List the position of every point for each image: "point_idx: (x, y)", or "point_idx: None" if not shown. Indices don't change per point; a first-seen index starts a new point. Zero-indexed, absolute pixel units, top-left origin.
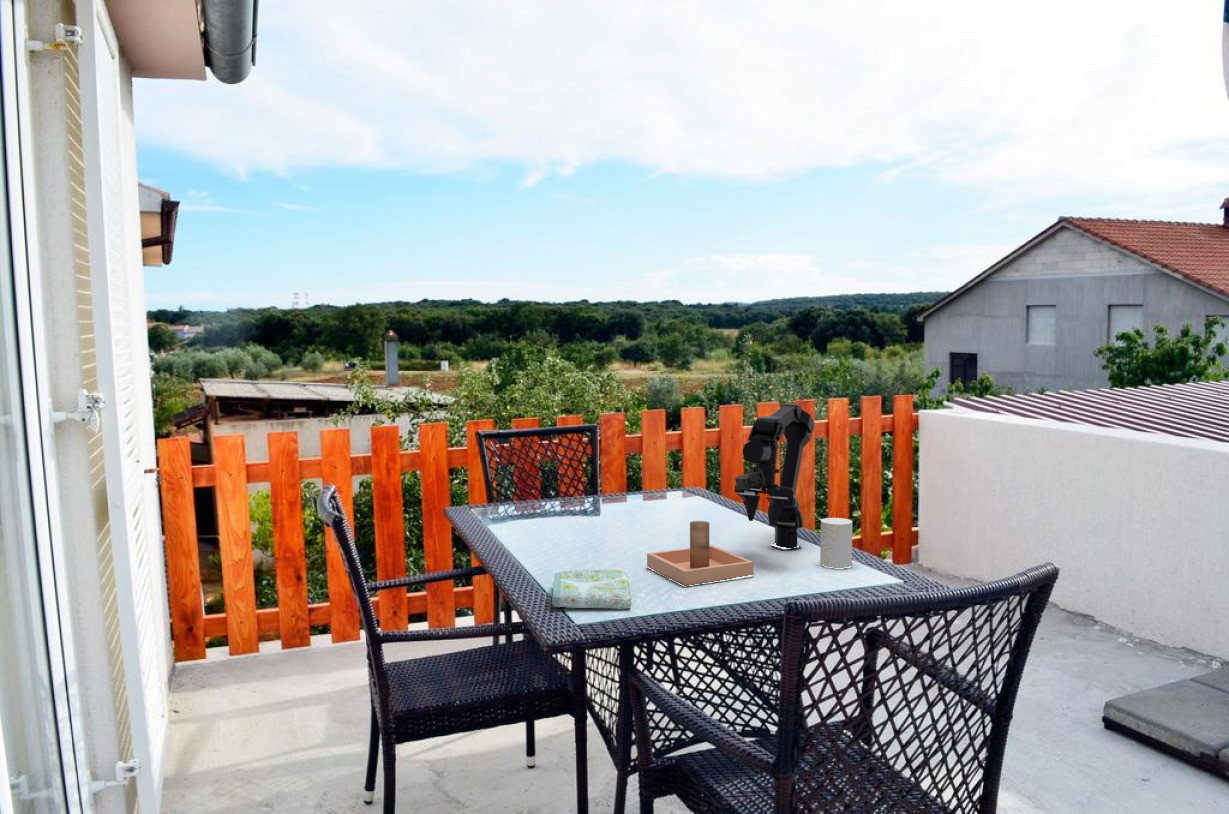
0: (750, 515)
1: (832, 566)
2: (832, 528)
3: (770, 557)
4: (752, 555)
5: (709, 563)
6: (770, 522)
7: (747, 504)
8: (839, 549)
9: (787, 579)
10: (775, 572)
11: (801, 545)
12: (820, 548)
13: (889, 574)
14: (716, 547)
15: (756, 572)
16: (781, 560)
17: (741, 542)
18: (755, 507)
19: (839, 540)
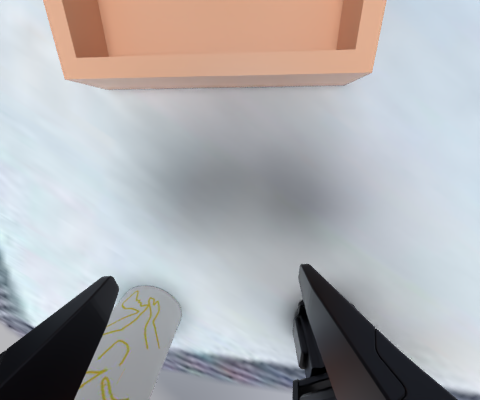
0: (310, 293)
1: (125, 294)
2: None
3: (267, 247)
4: (308, 222)
5: (281, 21)
6: (101, 281)
7: (370, 372)
8: None
9: (72, 164)
10: (138, 176)
11: None
12: (146, 324)
13: None
14: (324, 66)
15: (153, 130)
16: (230, 251)
17: (436, 274)
18: (334, 382)
19: None
